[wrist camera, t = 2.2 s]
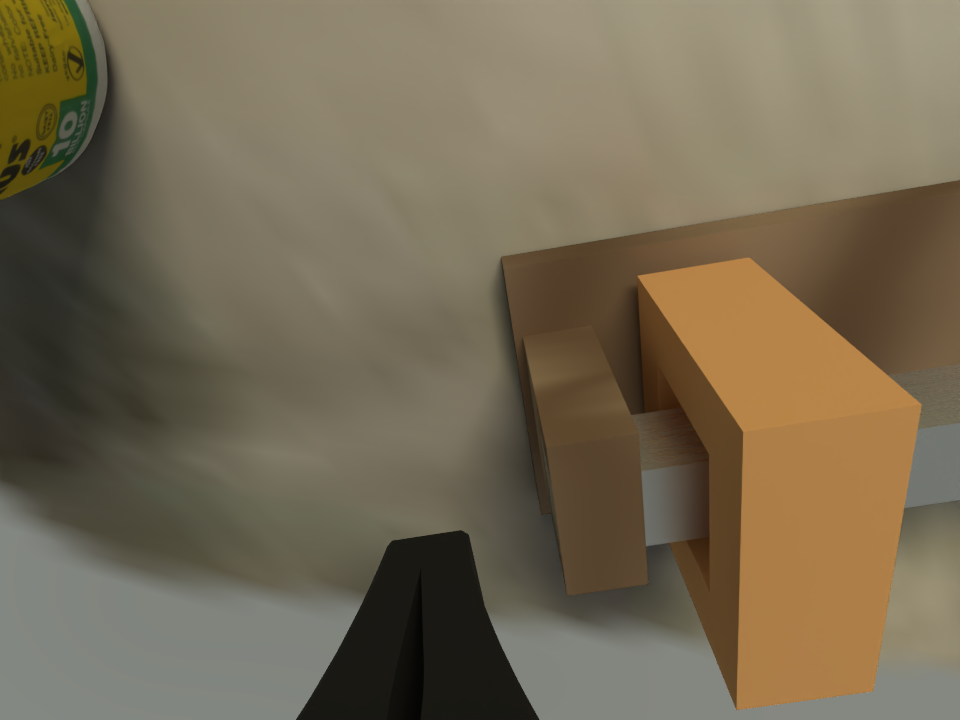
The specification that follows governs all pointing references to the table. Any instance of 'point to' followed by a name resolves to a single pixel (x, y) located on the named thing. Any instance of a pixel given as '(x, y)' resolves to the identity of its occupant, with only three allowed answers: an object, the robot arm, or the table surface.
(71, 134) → the supplement bottle
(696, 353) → the collar
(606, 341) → the stand
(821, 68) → the table surface
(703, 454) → the rod
